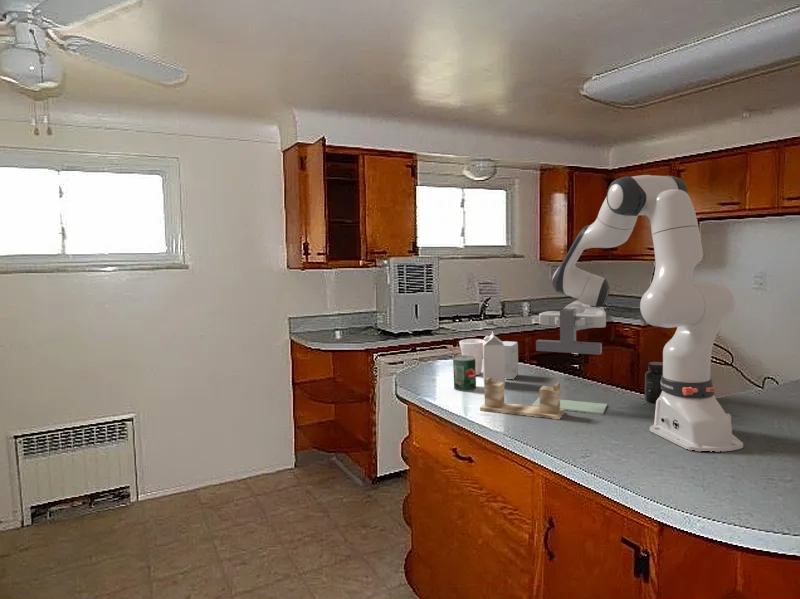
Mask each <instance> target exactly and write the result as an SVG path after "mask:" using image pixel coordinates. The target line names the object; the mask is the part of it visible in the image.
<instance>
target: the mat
mask: <svg viewBox="0 0 800 599" xmlns="http://www.w3.org/2000/svg"><path fill="white" fill-rule="evenodd" d="M530 406H538V407H540V396H539V397H537V399H536V400H534V401H533V403H532V404H530ZM607 407H608V404H607V403H599V402H589V401H579V400H578V401H577V400H572V399H571V400H570V399H569V400H568V399H561V398H560V409H565V411H566V410H568V411H567V412H575V411H577V413H584V412H585V414H595V415H603V414H604V413H605V411H606V408H607Z"/></svg>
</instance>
